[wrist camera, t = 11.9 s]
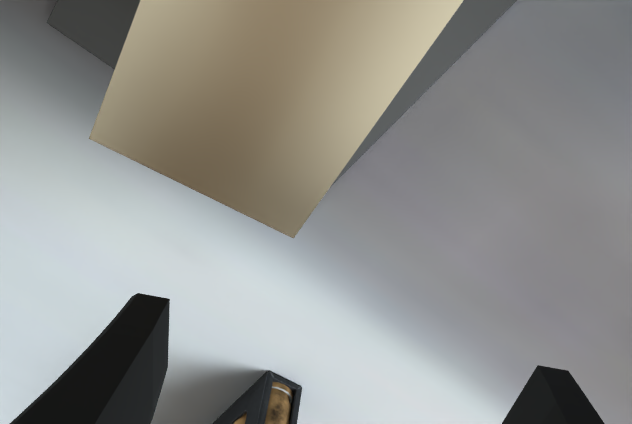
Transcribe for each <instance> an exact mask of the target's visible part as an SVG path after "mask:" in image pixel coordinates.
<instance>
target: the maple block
mask: <svg viewBox="0 0 632 424" xmlns="http://www.w3.org/2000/svg"><path fill="white" fill-rule="evenodd" d="M463 1H464V0H140V3H139V6H138V8H137V11H136V14H135V16H134V19H133V22H132V24H131V27H130V30H129V32H128V35H127V38H126V41H125V43H124V46H123V49H122V51H121V54H120V57H119V59H118V62H117V65H116V67H115V70H114V73H113V75H112V78H111V81H110V83H109V86H108V89H107V91H106V94H105V97H104V99H103V102H102V105H101V107H100V110H99V113H98V115H97V118H96V121H95V124H94V126H93V129H92V132H91V134H90V137H89V139H91V140H93V141H95V142H97V143H99V144H101V145H103V146H105V147H107V148H109V149H111V150H113V151H115V152H117V153H119V154H122V155H124V156H126V157H128V158H130V159H132V160H134V161H136V162H138V163H140V164H142V165H144V166H146V167H148V168H150V169H152V170H154V171H156V172H158V173H160V174H163V175H165V176H167V177H169V178H171V179H173V180H175V181H177V182H179V183H181V184H183V185H185V186H187V187H189V188H191V189H193V190H195V191H197V192H199V193H201V194H203V195H206V196H208V197H210V198H212V199H214V200H216V201H218V202H220V203H222V204H224V205H226V206H228V207H230V208H232V209H234V210H236V211H238V212H240V213H242V214H244V215H247V216H249V217H251V218H253V219H255V220H257V221H259V222H261V223H263V224H265V225H267V226H269V227H271V228H273V229H275V230H277V231H279V232H281V233H283V234H285V235H287V236H290V237H292V238H294V237H295V235H296V234H297V233H298V231H299V230H300V228H301V227H302V226H303V224H304V223H305V222H306V220H307V219H308V217H309V216H310V215H311V213H312V212H313V210H314V209H315V208H316V206H317V205H318V203H319V202H320V201H321V199H322V198H323V196H324V195H325V194H326V192H327V191H328V189H329V188H330V187H331V185H332V184H333V182H334V181H335V180H336V178H337V177H338V175H339V174H340V173H341V171H342V170H343V168H344V167H345V166H346V164H347V163H348V161H349V160H350V159H351V157H352V156H353V154H354V153H355V152H356V150H357V149H358V147H359V146H360V145H361V143H362V142H363V140H364V139H365V138H366V136H367V135H368V133H369V132H370V131H371V129H372V128H373V126H374V125H375V124H376V122H377V121H378V119H379V118H380V117H381V115H382V114H383V112H384V111H385V110H386V108H387V107H388V105H389V104H390V103H391V101H392V100H393V98H394V97H395V96H396V94H397V93H398V91H399V90H400V89H401V87H402V86H403V84H404V83H405V82H406V80H407V79H408V78H409V76H410V75H411V73H412V72H413V71H414V69H415V68H416V66H417V65H418V64H419V62H420V61H421V59H422V58H423V57H424V55H425V54H426V52H427V51H428V50H429V48H430V47H431V45H432V44H433V43H434V41H435V40H436V38H437V37H438V36H439V34H440V33H441V31H442V30H443V29H444V27H445V26H446V24H447V23H448V22H449V20H450V19H451V17H452V16H453V15H454V13H455V12H456V10H457V9H458V8H459V6H460V5H461V3H462V2H463Z"/></svg>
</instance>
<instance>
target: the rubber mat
mask: <svg viewBox="0 0 632 424" xmlns="http://www.w3.org/2000/svg"><path fill="white" fill-rule="evenodd" d="M516 1H517V0H464V1H463V2H462V3H461V5H460V6H459V8H458V9H457V10H456V12H455V13H454V15H453V16H452V17H451V19H450V20H449V22H448V23H447V24H446V26H445V27H444V29H443V30H442V31H441V33H440V34H439V36H438V37H437V38H436V40H435V41H434V43H433V44H432V45H431V47H430V48H429V50H428V51H427V52H426V54H425V55H424V57H423V58H422V59H421V61H420V62H419V64H418V65H417V66H416V68H415V69H414V71H413V72H412V73H411V75H410V76H409V78H408V79H407V80H406V82H405V83H404V84H403V86H402V87H401V89H400V90H399V91H398V93H397V94H396V96H395V97H394V98H393V100H392V101H391V103H390V104H389V105H388V107H387V108H386V110H385V111H384V112H383V114H382V115H381V117H380V118H379V119H378V121H377V122H376V124H375V125H374V126H373V128H372V129H371V131H370V132H369V133H368V135H367V136H366V138H365V139H364V140H363V142H362V143H361V145H360V146H359V147H358V149H357V150H356V152H355V153H354V154H353V156H352V157H351V159H350V160H349V161H348V163H347V164H346V166H345V167H344V168H343V170H342V171H341V173H340V174H339V175H338V177H337V178H336V180H335V181H334V182H333V184H334V183H335V182H336V181H337V180H338V179H339V178H340V177H341V176H342V175H343V174H344V173H345V172H346V171H347V170H348V169H349V168H350V167H351V166H352V165H353V164H354V163H355V162H356V161H357V160H358V159H359V158H360V157H361V156H362V155H363V154H364V153H365V152H366V151H367V150H368V149H369V148H370V147H371V146H372V145H373V144H374V143H375V142H376V141H377V140H378V139H379V138H380V137H381V136H382V135H383V134H384V133H385V132H386V131H387V130H388V129H389V128H390V127H391V126H392V125H393V124H394V123H395V122H396V121H397V120H398V119H399V118H400V117H401V116H402V115H403V114H404V113H405V112H406V111H407V110H408V109H409V108H410V107H411V106H412V105H413V104H414V103H415V102H416V101H417V100H418V99H419V98H420V97H421V96H422V95H423V94H424V93H425V92H426V91H427V90H428V89H429V88H430V87H431V86H432V85H433V84H434V83H435V82H436V81H437V80H438V79H439V78H440V77H441V76H442V75H443V74H444V73H445V72H446V71H447V70H448V69H449V68H450V67H451V66H452V65H453V64H454V63H455V62H456V61H457V60H458V59H459V58H460V57H461V56H462V55H463V54H464V53H465V52H466V51H467V50H468V49H469V48H470V47H471V46H472V45H473V44H474V43H475V42H476V41H477V40H478V39H479V38H480V37H481V36H482V35H483V34H484V33H485V32H486V31H487V30H488V29H489V28H490V27H491V26H492V25H493V24H494V23H495V22H496V21H497V20H498V19H499V18H500V17H501V16H502V15H503V14H504V13H505V12H506V11H507V10H508V9H509V8H510V7H511V6H512V5H513V4H514V3H515V2H516ZM139 3H140V0H58V1H57V3H56V5H55V7H54V9H53V11H52V13H51V15H50V17H49V19H48V21H47V23H48V24H49V25H51V26H52V27H54V28H55V29H57V30H58V31H60V32H61V33H62V34H64V35H65V36H67V37H68V38H70V39H71V40H73V41H74V42H76V43H77V44H79V45H80V46H81V47H83V48H84V49H86V50H87V51H89V52H90V53H92V54H93V55H95V56H96V57H98V58H99V59H100V60H102V61H103V62H105V63H106V64H108V65H109V66H111V67H112V68H114V69H115V67H116V65H117V62H118V59H119V57H120V54H121V51H122V49H123V46H124V43H125V41H126V38H127V35H128V32H129V30H130V27H131V24H132V22H133V19H134V16H135V14H136V11H137V8H138V6H139ZM333 184H332V185H333ZM332 185H331V186H332Z"/></svg>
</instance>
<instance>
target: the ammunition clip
mask: <svg viewBox="0 0 632 424" xmlns="http://www.w3.org/2000/svg"><path fill="white" fill-rule="evenodd" d="M301 392H302V387H300V386H298V385H296V384H294V383H292V382H290V381H288V380H286V379H284V378H282V377H280V376H278V375H276V374H274V373H272V372H270V371H267V372H266V373H265V374H264V375H263V376H262V377H261V378H260V379H259V380H258V381H257V382H256V383H255V384H254V385H252V386H251V387H250V388H249V389H248V390H247V391H246V392H245V393H244V394H243V395H242V396H241V397H240V398H239V399H238V400H237V401H236V402H235V403H234V404H233V405H232V406H230V407H229V408H228V409H227V410H226V411H225V412H224V413H223V414H222V415H221V416H220V417H219V418H218V419H217V420H216V421H215V422H214V423H213V424H297V419H298V412H299V405H300V398H301Z"/></svg>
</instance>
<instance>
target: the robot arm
mask: <svg viewBox="0 0 632 424" xmlns="http://www.w3.org/2000/svg"><path fill="white" fill-rule="evenodd" d="M169 301H170V299H167V298H161V297H156V296H150V295H145V294H139V293H137V294H136V295H134V296H132V297H131V298H130V300H129V301H128V302H127V303H126V305H125V306H124V307H123V308H122V310H121V311H120V312H119V313H118V314H117V316H116V317H115V318H114V319H113V320H112V321H111V323H110V324H109V325H108V326H107V327H106V328H105V329H104V331H103V332H102V333H101V334H100V335H99V336H98V337H97V338H96V339H95V340H94V342H93V343H92V344H91V345H90V346H89V347H88V348H87V349H86V350H85V351H84V352H83V353H82V354H81V355H80V356H79V357H78V358H77V359H76V361H75V362H74V363H73V364H72V365H71V366H70V367H69V368H68V369H67V370H66V371H65V372H64V373H63V374H62V375H61V376H60V377H59V378H58V379H57V380H56V381H55V382H54V383H53V384H52V385H51V386H50V387H49V388H48V389H47V390H46V391H45V392H43V393H42V394H41V395H40V396H39V397H38V398H37V399H36V400H35V401H34V402H33V403H32V404H31V405H29V406H28V407H27V408H26V409H25V410H24V411H23V412H22V413H21V414H20V415H19V416H18V417H17V418H16V419H14V420H13V421H12V422H11V423H10V424H150V423H151V420H152V418H153V415H154V412H155V408H156V405H157V402H158V398H159V395H160V392H161V388H162V385H163V381H164V378H165V375H166V371H167V368H168V336H169ZM502 424H604V422H603V421H602V419H601V418H600V416H599V415H598V413H597V412H596V410H595V409H594V408H593V406H592V405H591V403H590V402H589V400H588V399H587V397H586V396H585V394H584V393H583V391H582V390H581V388H580V387H579V385H578V384H577V383H576V381H575V380H574V378H573V377H572V375H571V374H570V373H569V371H566V370H561V369H555V368H550V367H544V366H539V365H538V366H537V367H536V369H535V371H534V372H533V374H532V375H531V377H530V379H529V380H528V382H527V384H526V385H525V387H524V388H523V390H522V392H521V393H520V395H519V397H518V398H517V400H516V401H515V403H514V405H513V406H512V408H511V410H510V411H509V413H508V414H507V416H506V418H505V419H504V421H503V423H502Z"/></svg>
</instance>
